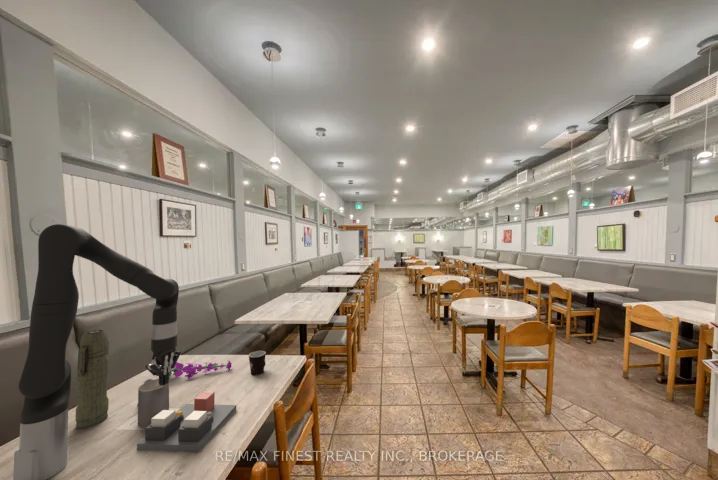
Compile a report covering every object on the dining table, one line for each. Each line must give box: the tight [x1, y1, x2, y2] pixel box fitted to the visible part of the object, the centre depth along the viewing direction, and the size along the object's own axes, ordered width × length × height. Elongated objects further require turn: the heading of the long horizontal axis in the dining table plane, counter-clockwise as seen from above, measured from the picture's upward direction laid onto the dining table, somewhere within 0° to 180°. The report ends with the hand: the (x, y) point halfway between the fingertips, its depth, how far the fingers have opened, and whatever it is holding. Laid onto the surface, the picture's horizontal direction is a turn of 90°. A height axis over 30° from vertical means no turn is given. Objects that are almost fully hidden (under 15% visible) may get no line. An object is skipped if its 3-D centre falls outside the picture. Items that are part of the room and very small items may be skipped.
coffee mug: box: [248, 350, 267, 376], centre depth 137 cm, size 12×9×10 cm
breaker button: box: [184, 411, 207, 428], centre depth 89 cm, size 5×5×4 cm
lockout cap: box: [193, 391, 216, 413], centre depth 102 cm, size 5×5×6 cm
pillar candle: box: [137, 378, 170, 428], centre depth 101 cm, size 10×10×15 cm
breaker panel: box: [136, 403, 237, 453], centre depth 95 cm, size 22×22×6 cm
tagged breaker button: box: [151, 409, 176, 427], centre depth 90 cm, size 5×5×4 cm
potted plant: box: [155, 359, 232, 379], centre depth 137 cm, size 12×16×35 cm
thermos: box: [75, 329, 110, 430], centre depth 101 cm, size 9×12×35 cm
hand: (164, 384), depth 90 cm, fingers closed
